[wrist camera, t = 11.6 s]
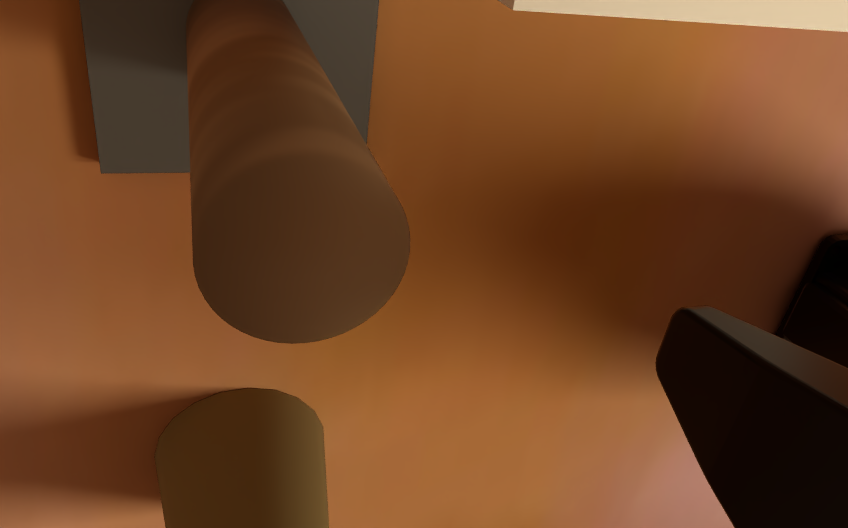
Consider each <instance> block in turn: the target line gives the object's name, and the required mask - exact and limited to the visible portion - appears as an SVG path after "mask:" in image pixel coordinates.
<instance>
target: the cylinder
mask: <svg viewBox="0 0 848 528" xmlns="http://www.w3.org/2000/svg"><path fill="white" fill-rule="evenodd" d="M186 47H187V80H188V113H189V146H190V179H191V212H192V246H193V266H194V272H195V277H196V280H197V283H198V286H199V289H200V291H201V292H202V294H203V296H204V298H205V300H206V301H207V303H208V304H209V305H210V307H211V308H212V309H213V310H214V311H215V312H216V313H217V314H218V315H219V316H220V317H221V318H222V319H223V320H224V321H226V322H227V323H228V324H230V325H231V326H233V327H234V328H236V329H238V330H239V331H241V332H243V333H246V334H248V335H250V336H253V337H256V338H259V339H263V340H266V341H272V342H278V343H291V344H293V343H308V342H315V341H320V340H324V339H328V338H332V337H334V336H337V335H340V334H343V333H345V332H347V331H349V330H351V329H353V328H355V327H357V326H358V325H360V324H361V323H363V322H365V321H366V320H367V319H369V318H370V317H371V316H373V315H374V314H375V313H376V312H377V311H378V310H379V309H380V308H381V307H382V306H383V305H384V304H385V303H386V302H387V301H388V300H389V298H390V297H391V296H392V295H393V293H394V292H395V290H396V288H397V287H398V285H399V284H400V281H401V279H402V277H403V275H404V273H405V270H406V266H407V263H408V259H409V253H410V232H409V225H408V222H407V218H406V215H405V213H404V210H403V208H402V206H401V204H400V202H399V200H398V199H397V197H396V195H395V193H394V192H393V190H392V188H391V186H390V185H389V183H388V181H387V180H386V178H385V176H384V174H383V173H382V171H381V169H380V167H379V166H378V164H377V162H376V161H375V159H374V157H373V155H372V154H371V152H370V150H369V148H368V147H367V145H366V143H365V141H364V140H363V138H362V136H361V135H360V133H359V131H358V129H357V128H356V126H355V124H354V122H353V121H352V119H351V117H350V116H349V114H348V112H347V110H346V109H345V107H344V105H343V103H342V102H341V100H340V98H339V96H338V95H337V93H336V91H335V90H334V88H333V86H332V84H331V83H330V81H329V79H328V77H327V76H326V74H325V72H324V70H323V69H322V67H321V65H320V64H319V62H318V60H317V58H316V57H315V55H314V53H313V51H312V50H311V48H310V46H309V45H308V43H307V41H306V39H305V38H304V36H303V34H302V32H301V31H300V29H299V27H298V25H297V24H296V22H295V20H294V19H293V17H292V15H291V13H290V12H289V10H288V8H287V7H286V5H285V3H284V2H283V1H282V0H194V2H193V3H192V5H191V7H190V9H189V12H188V16H187V21H186Z"/></svg>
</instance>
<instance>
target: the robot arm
mask: <svg viewBox="0 0 848 528" xmlns="http://www.w3.org/2000/svg"><path fill="white" fill-rule="evenodd" d="M656 371H657V375H658V378H659V380H660V382H661V384H662V387H663V389H664V391H665V393H666V395H667V397H668V399H669V402H670V404H671V406H672V408H673V410H674V412H675V414H676V416H677V419H678V421H679V423H680V425H681V427H682V429H683V431H684V434H685V436H686V438H687V440H688V442H689V444H690V446H691V448H692V451H693V453H694V455H695V457H696V459H697V461H698V463H699V465H700V467H701V469H702V471H703V473H704V475H705V477H706V479H707V481H708V483H709V485H710V486H711V488H712V490H713V492H714V494H715V495H716V497H717V499H718V500H719V502H720V504H721V506H722V507H723V509H724V511H725V512H726V514H727V516H728V517H729V519H730V521H731V522H732V524H733V526H734V528H848V234H845V235H832V236H829V237H827V238H826V239H825V240H824V241H822V243H821V244H820V246H819V248H818V250H817V252H816V254H815V256H814V258H813V260H812V262H811V264H810V266H809V268H808V270H807V272H806V274H805V276H804V279H803V281H802V283H801V285H800V287H799V289H798V291H797V293H796V295H795V297H794V299H793V301H792V303H791V305H790V307H789V310H788V312H787V314H786V316H785V318H784V320H783V322H782V324H781V326H780V328H779V330H778V332H777V334H776V336H775V335H773V334H771V333H769V332H767V331H764V330H762V329H760V328H758V327H755V326H753V325H751V324H749V323H747V322H744V321H742V320H740V319H738V318H735V317H733V316H731V315H729V314H727V313H724V312H722V311H720V310H718V309H715V308H713V307H710V306H693V307H683V308H680V309H678V310H677V311H676V312H675V313H674V314H673V315H672V317H671V320H670V322H669V325H668V327H667V330H666V333H665V335H664V338H663V341H662V343H661V346H660V349H659V351H658V354H657V357H656Z"/></svg>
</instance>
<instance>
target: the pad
mask: <svg viewBox="0 0 848 528" xmlns="http://www.w3.org/2000/svg"><path fill="white" fill-rule="evenodd" d="M282 1H283V2H284V3H285V5H286V7H287V8H288V10H289V12H290V13H291V15H292V17H293V19H294V20H295V22H296V24H297V25H298V27H299V29H300V31H301V32H302V34H303V36H304V38H305V39H306V41H307V43H308V45H309V46H310V48H311V50H312V51H313V53H314V55H315V57H316V58H317V60H318V62H319V64H320V65H321V67H322V69H323V70H324V72H325V74H326V76H327V77H328V79H329V81H330V83H331V84H332V86H333V88H334V90H335V91H336V93H337V95H338V96H339V98H340V100H341V102H342V103H343V105H344V107H345V109H346V110H347V112H348V114H349V116H350V117H351V119H352V121H353V122H354V124H355V126H356V128H357V129H358V131H359V133H360V135H361V136H362V138H363V140H364V141H365V143H366V145H367V133H368V122H369V110H370V99H371V87H372V75H373V64H374V52H375V41H376V29H377V18H378V6H379V0H282ZM193 2H194V0H79V4H80V12H81V20H82V28H83V35H84V43H85V51H86V59H87V67H88V75H89V83H90V91H91V99H92V107H93V114H94V122H95V130H96V138H97V146H98V154H99V162H100V170H101V173H185V172H190V146H189V113H188V80H187V47H186V21H187V16H188V12H189V9H190V7H191V5H192V3H193Z"/></svg>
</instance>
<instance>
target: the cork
mask: <svg viewBox="0 0 848 528" xmlns="http://www.w3.org/2000/svg"><path fill="white" fill-rule="evenodd" d="M154 458H155V464H156V470H157V477H158V483H159V489H160V495H161V502H162V508H163V514H164V520H165V527H166V528H329V519H328V501H327V484H326V467H325V450H324V433H323V426H322V424H321V422H320V420H319V418H318V416H317V415H316V413H315V411H314V410H313V409H312V408H310V407H309V406H308V405H306V404H305V403H304V402H303V401H301V400H300V399H299V398H297V397H294V396H291V395H288V394H285V393H283V392H280V391H277V390H269V389H255V388H246V389H239V390H233V391H227V392H220V393H218V394H215V395H213V396H210V397H208V398H205V399H203V400H201V401H198V402H196V403H194V404H192V405H191V406H189V407H188V408H187V409H185V410H184V411H183V412H181V413H180V414H179V415H177V416H176V417H174V418H173V419H172V421H171V422H170V423H169V425H168V426H167V427H166V429H165V430H164V431H163V433H162V434H161V435H160V437H159V440H158V444H157V448H156V452H155V456H154Z"/></svg>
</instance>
